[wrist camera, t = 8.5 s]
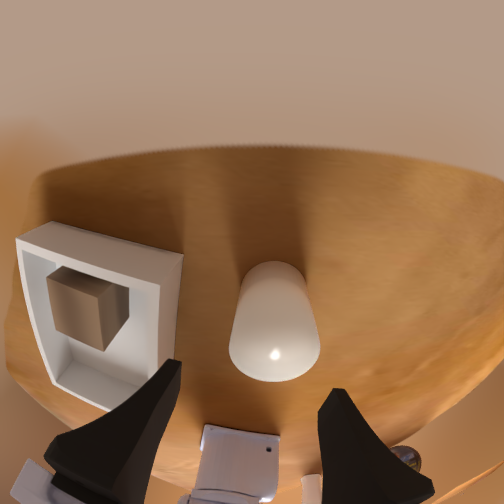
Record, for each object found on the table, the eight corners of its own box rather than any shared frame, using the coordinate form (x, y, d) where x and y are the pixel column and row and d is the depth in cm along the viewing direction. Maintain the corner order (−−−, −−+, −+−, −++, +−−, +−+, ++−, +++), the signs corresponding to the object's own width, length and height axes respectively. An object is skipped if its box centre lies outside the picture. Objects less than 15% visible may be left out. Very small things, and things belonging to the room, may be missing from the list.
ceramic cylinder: (314, 269, 20) (333, 324, 13) (295, 323, 22) (302, 386, 15) (248, 253, 20) (238, 305, 13) (235, 310, 21) (222, 372, 15)
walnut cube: (129, 267, 20) (97, 297, 15) (129, 317, 22) (103, 352, 17) (81, 252, 20) (45, 277, 15) (85, 300, 22) (55, 329, 17)
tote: (183, 254, 20) (160, 285, 15) (172, 397, 26) (160, 431, 22) (52, 220, 20) (15, 237, 15) (72, 358, 26) (52, 384, 21)
